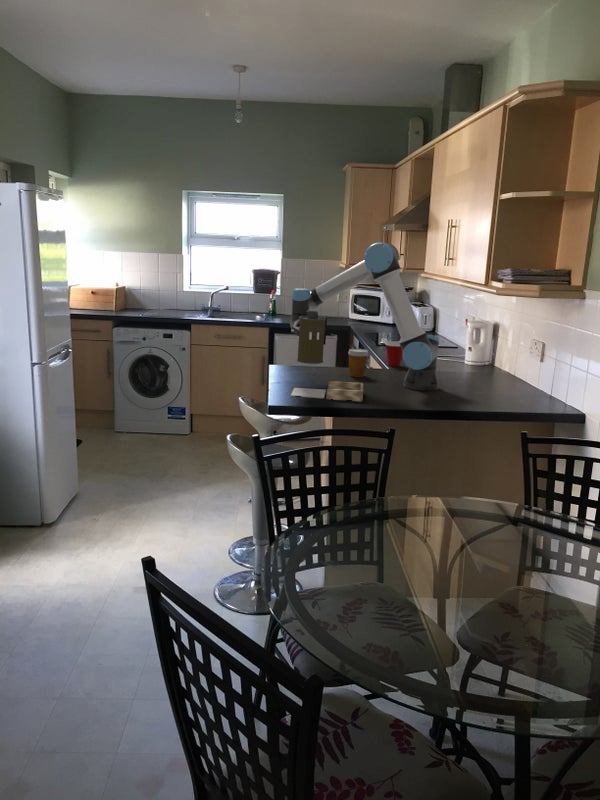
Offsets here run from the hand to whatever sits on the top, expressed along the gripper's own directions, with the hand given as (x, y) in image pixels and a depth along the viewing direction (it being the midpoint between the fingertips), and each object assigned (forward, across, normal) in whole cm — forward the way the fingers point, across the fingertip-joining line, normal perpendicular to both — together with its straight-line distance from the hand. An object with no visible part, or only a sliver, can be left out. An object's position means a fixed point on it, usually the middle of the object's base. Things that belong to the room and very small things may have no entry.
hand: (314, 336), depth 251 cm
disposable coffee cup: (-43, -30, -24) cm, 58 cm away
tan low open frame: (-2, -14, -24) cm, 28 cm away
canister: (-6, 0, -11) cm, 12 cm away
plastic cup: (-71, -56, -24) cm, 94 cm away
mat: (-5, 0, -24) cm, 25 cm away
